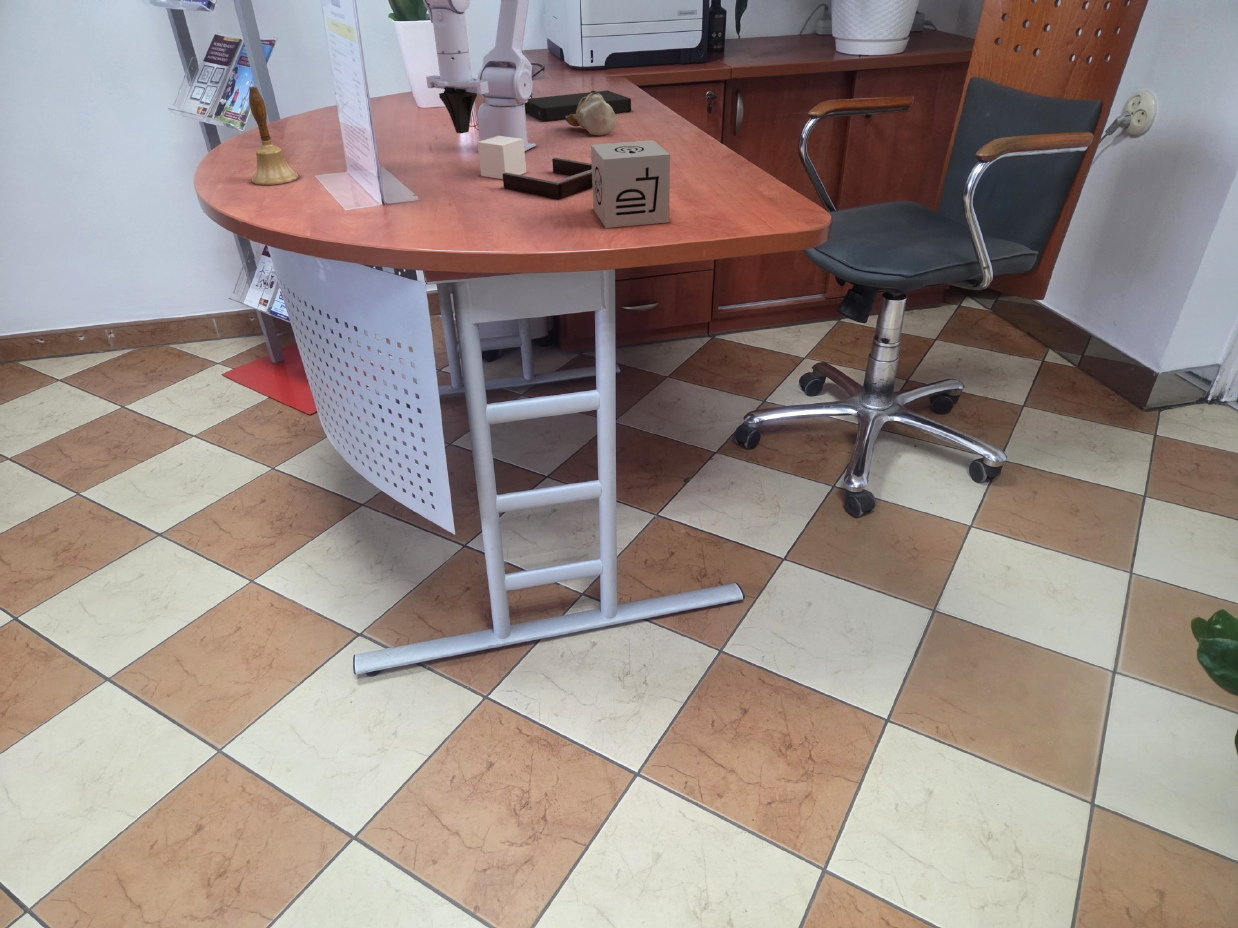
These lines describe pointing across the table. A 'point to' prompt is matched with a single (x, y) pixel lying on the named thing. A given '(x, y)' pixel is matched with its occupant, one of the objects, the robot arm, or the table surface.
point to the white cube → (501, 156)
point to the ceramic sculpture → (593, 115)
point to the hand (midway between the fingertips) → (462, 132)
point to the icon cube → (630, 183)
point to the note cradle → (558, 189)
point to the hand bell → (268, 148)
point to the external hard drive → (571, 105)
